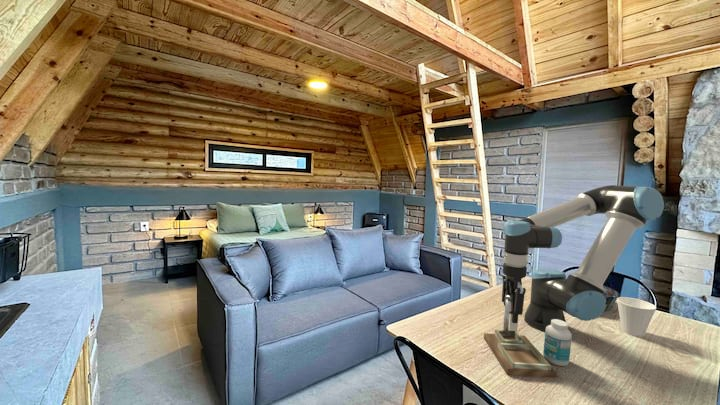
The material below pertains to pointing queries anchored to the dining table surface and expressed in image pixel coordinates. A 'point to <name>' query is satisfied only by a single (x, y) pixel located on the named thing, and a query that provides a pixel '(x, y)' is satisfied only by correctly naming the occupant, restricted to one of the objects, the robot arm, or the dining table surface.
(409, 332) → the dining table surface
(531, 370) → the dock board
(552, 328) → the pill bottle
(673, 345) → the dining table surface
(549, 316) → the robot arm
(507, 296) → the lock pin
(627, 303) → the cup
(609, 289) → the decorative bowl
